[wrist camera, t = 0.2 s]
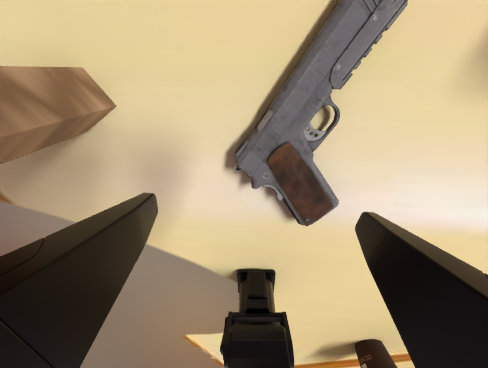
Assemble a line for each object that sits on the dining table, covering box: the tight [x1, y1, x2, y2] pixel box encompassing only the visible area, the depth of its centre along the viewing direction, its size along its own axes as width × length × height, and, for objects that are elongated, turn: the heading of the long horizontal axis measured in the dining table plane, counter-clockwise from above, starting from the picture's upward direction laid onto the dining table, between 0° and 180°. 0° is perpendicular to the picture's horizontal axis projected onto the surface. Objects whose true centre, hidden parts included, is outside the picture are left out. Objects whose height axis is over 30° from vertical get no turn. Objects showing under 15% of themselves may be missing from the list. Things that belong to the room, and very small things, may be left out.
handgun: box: [234, 0, 408, 226], centre depth 20 cm, size 3×22×14 cm
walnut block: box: [0, 66, 116, 164], centre depth 14 cm, size 4×5×13 cm
